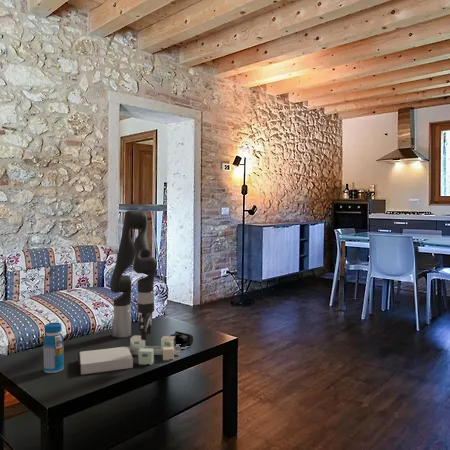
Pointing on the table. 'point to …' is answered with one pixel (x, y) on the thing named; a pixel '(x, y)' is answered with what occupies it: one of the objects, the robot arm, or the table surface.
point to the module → (146, 356)
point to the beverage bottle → (53, 348)
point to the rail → (158, 350)
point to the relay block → (168, 353)
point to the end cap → (183, 339)
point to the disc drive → (104, 360)
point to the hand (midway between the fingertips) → (146, 336)
